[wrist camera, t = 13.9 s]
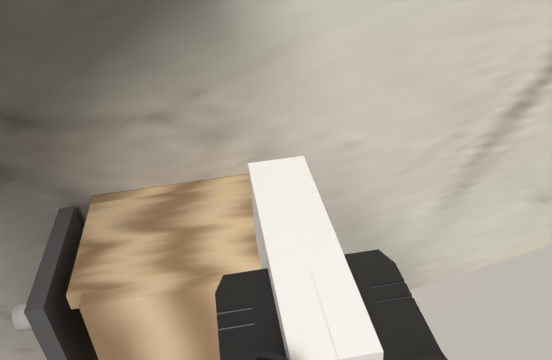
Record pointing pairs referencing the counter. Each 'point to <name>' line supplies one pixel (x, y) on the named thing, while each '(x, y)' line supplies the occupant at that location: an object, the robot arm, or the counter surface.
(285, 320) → the robot arm
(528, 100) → the counter surface
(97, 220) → the box
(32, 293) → the door
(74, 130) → the counter surface
